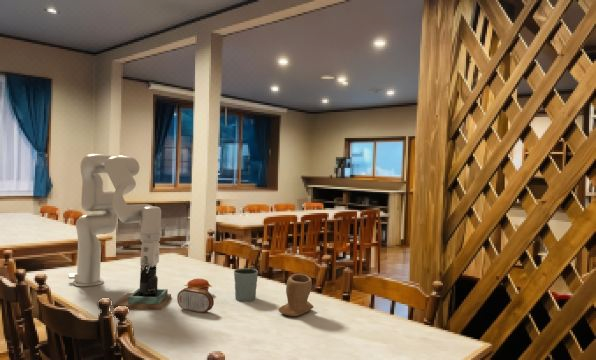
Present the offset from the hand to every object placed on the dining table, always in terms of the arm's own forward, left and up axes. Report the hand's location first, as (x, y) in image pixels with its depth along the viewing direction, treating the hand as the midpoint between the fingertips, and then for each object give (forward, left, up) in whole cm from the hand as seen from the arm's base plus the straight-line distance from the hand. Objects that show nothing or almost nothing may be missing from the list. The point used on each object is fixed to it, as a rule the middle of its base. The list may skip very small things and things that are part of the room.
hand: (148, 279), depth 173 cm
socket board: (-2, 0, -9) cm, 10 cm away
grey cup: (+38, +9, -10) cm, 41 cm away
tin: (+20, -8, -10) cm, 24 cm away
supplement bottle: (0, 0, -8) cm, 8 cm away
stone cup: (+60, -7, -10) cm, 62 cm away
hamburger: (+17, +14, -10) cm, 24 cm away
